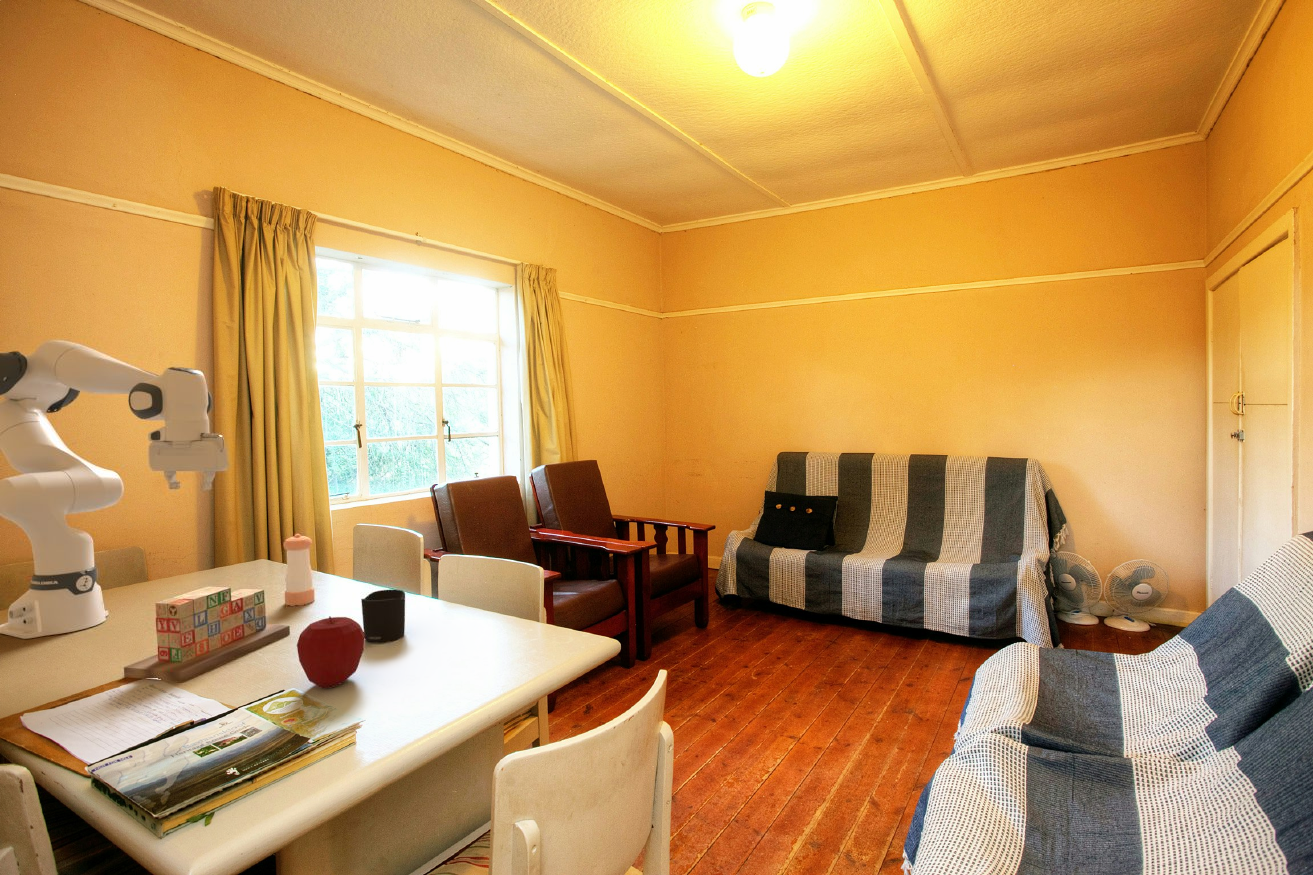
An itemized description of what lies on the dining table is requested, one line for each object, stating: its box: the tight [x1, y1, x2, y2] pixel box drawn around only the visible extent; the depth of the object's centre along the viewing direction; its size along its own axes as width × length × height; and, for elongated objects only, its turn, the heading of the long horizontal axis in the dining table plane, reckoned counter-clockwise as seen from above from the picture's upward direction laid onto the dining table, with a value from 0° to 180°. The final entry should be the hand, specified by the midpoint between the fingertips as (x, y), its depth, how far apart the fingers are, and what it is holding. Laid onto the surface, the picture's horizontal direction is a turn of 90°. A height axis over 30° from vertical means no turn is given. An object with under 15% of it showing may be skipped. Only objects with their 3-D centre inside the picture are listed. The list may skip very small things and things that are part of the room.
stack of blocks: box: [155, 585, 267, 663], centre depth 143 cm, size 21×6×12 cm, turn 167°
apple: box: [296, 615, 365, 689], centre depth 126 cm, size 12×12×13 cm
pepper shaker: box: [282, 533, 315, 607], centre depth 181 cm, size 7×7×19 cm
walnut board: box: [123, 623, 291, 683], centre depth 143 cm, size 14×28×2 cm, turn 168°
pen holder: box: [361, 589, 406, 644], centre depth 152 cm, size 9×9×10 cm
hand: (190, 489), depth 160 cm, fingers open, 8 cm apart
